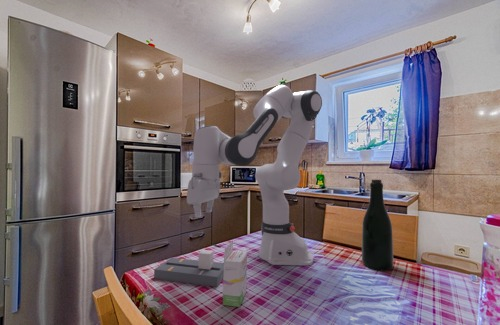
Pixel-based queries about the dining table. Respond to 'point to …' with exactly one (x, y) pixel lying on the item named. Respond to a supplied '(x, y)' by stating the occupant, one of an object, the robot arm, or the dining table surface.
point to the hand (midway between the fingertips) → (203, 214)
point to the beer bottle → (377, 231)
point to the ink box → (234, 276)
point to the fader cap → (205, 259)
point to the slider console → (189, 272)
